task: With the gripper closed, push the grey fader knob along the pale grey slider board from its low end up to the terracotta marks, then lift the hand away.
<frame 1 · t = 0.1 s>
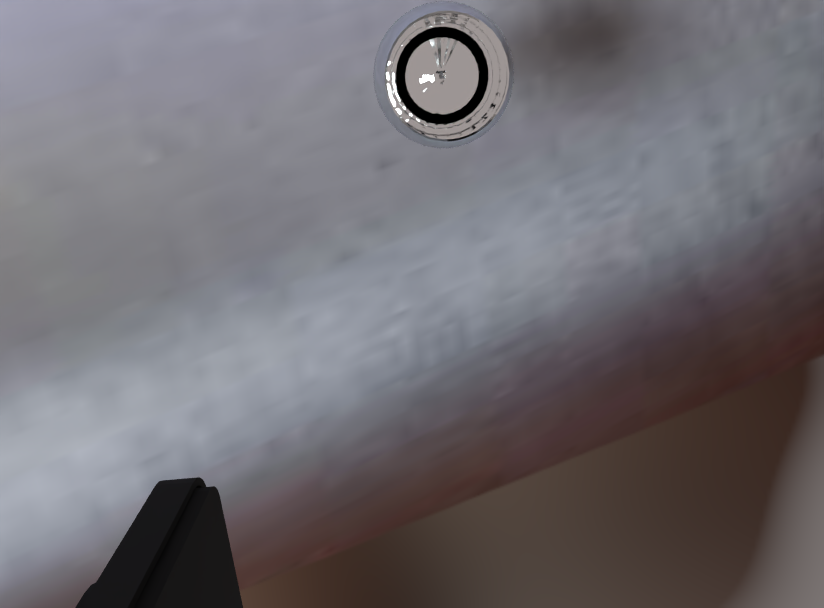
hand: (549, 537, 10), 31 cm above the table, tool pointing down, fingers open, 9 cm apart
wineglass: (435, 74, 38), on the table
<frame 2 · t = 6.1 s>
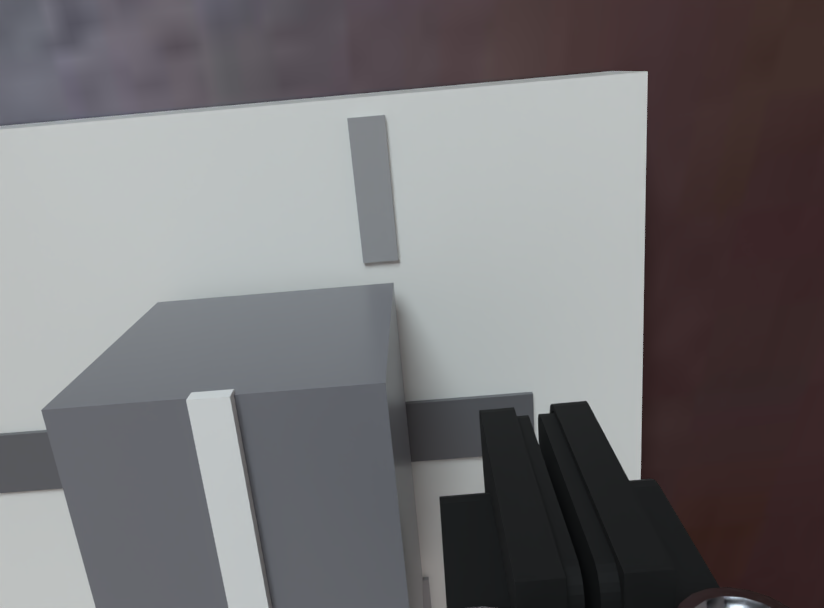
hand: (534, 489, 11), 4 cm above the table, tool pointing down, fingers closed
fader: (279, 518, 11), point 4 cm above the table, slide at -5.2 cm, touching gripper
fader board: (75, 411, 15), on the table
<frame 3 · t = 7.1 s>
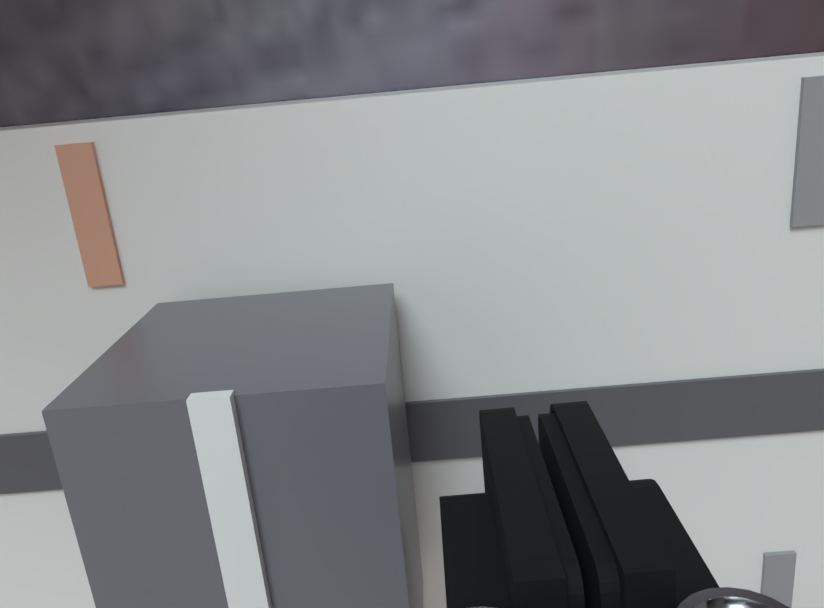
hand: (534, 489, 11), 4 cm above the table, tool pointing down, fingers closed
fader: (279, 518, 11), point 4 cm above the table, slide at 2.1 cm, touching gripper
fader board: (411, 385, 15), on the table
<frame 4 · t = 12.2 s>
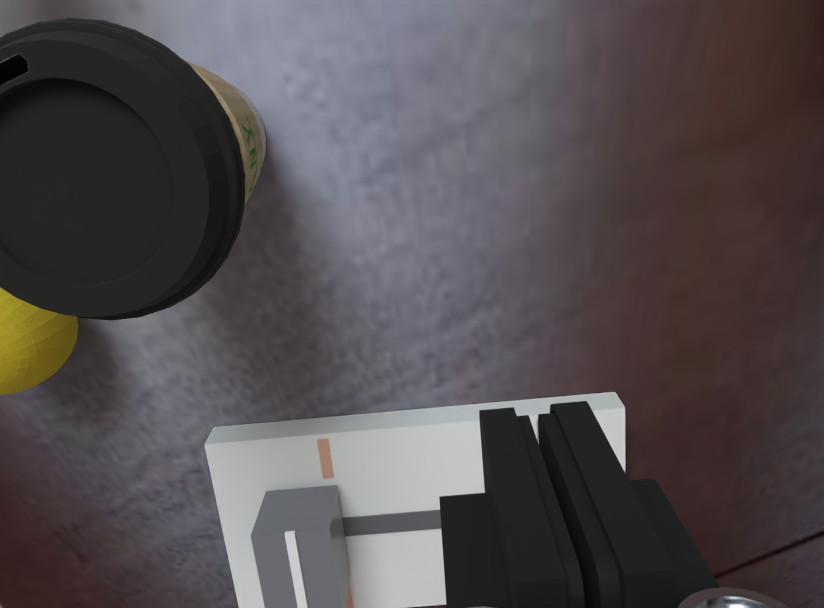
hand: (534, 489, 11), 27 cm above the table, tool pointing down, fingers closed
fader: (304, 557, 39), point 4 cm above the table, slide at 6.5 cm
coffee cup: (206, 139, 36), on the table
fader board: (422, 499, 43), on the table
lemon: (52, 306, 39), on the table
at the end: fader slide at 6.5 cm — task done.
